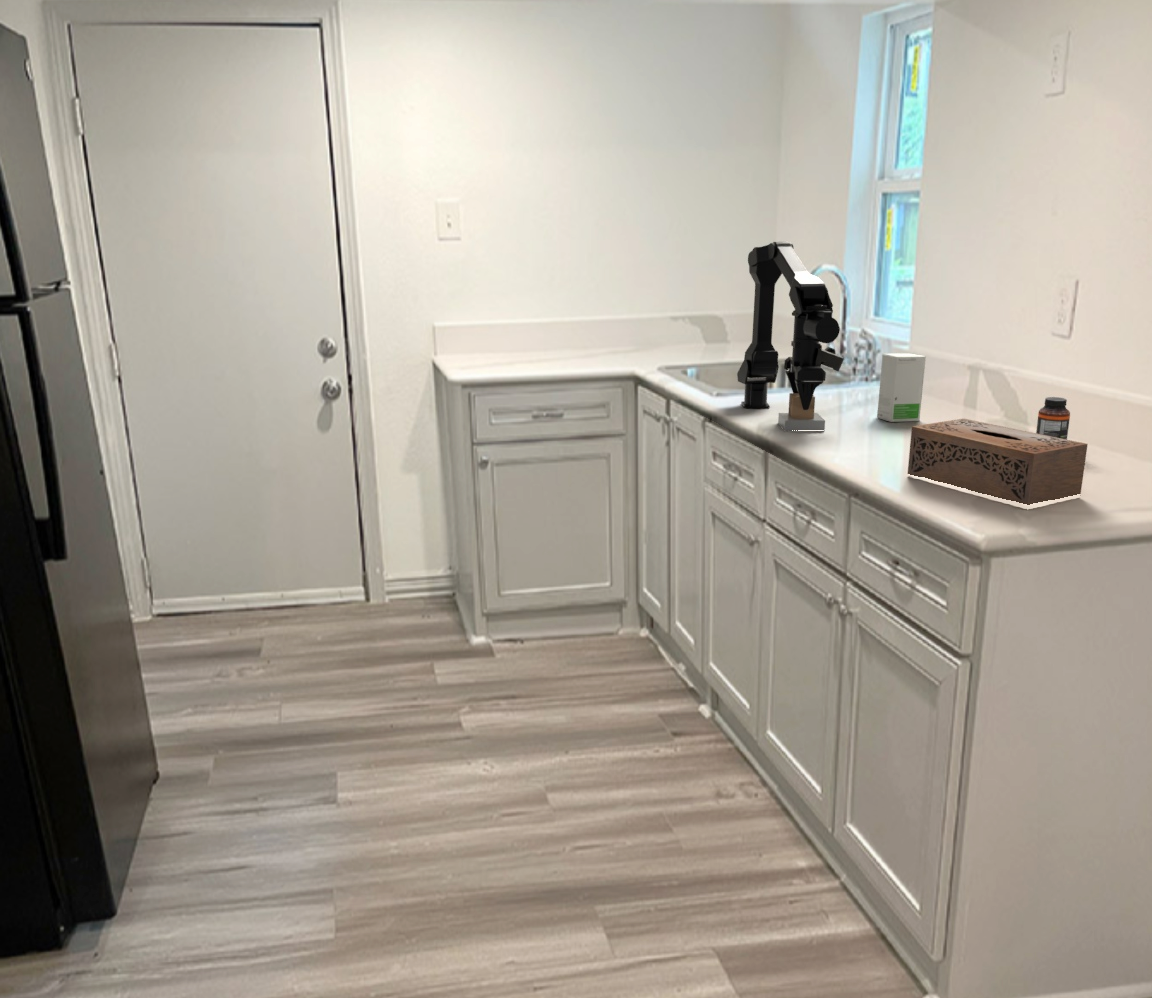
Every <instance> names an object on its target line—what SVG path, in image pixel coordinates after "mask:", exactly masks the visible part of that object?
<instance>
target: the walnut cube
mask: <svg viewBox="0 0 1152 998" xmlns="http://www.w3.org/2000/svg"><path fill="white" fill-rule="evenodd" d="M788 396H789V397H788V398H789V399H788V412H787V413H788V415H789V416H790V417H791V418H792V419H814V413H815V407H816V396H814V395H813V397H812V400H811V403H810V406H809V409H808V410H803V407H802V404H801V401H800V397H799V394H798V393H793V392H791V393H789V395H788Z"/></svg>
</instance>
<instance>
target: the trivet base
mask: <svg viewBox="0 0 1152 998" xmlns="http://www.w3.org/2000/svg"><path fill="white" fill-rule="evenodd" d="M788 413H789V412H779V413H778V419H777V420H778V421H777V424H778V425H779V426H780V428H781V427H782V428H783V429H782V428H781V429H782V431H783V432H793V431H794V430H795V431H796V430H797V431H798V430H824V431H825V429H826V420H825V418H823V417H822V416H821V415H820V414H819V413H818V412H814V419H792V418H791V417H790V416H789V415H788ZM792 430H793V431H792Z"/></svg>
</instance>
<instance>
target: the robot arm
mask: <svg viewBox="0 0 1152 998" xmlns="http://www.w3.org/2000/svg"><path fill="white" fill-rule="evenodd" d="M747 263H748V269H749V275H750V277H751V279H752V280H753V282H754V300H753V316H752V317H753V318H752V319H753V320H752V322H753V323H752V336H751V337H752V338H751V343H750V344H749V346H748V347H747V349H746V351H745V352H744V360H743V361H742V363H741V365H740V367H739V369H738V371H737V373H736V375H737V377H736V378H737V382H739V383H741V384H743V385H744V395H743V396H744V400H743V401H741V402H740V403H741V406H743V408H747V409H748V408H749V409H755V408H756V409H757V408H758V409H761V408H762V409H770V408H771V407H770V404H769V403H768V388H769V387H768V385H769V383H770V384H771V383H773V384H776V381H777V377H778V373H779V368H780V367H779V352H778V351H777V350H776V349H775V347H774V346H773V343H772V339H773V337H772V336H773V322H774V306H775V291H776V290H775V288H776V284H777V282H778V280H779V279H780V278H781V276H782V275H783V277H784V278H785V280H786V282H787V284H788V285H789V287H790V288H789V291H788V296H789V299H790V302H791V304H792V306H793V307H794V310H792V312H791V315H792V316H793V317H794V318H793V319H794V321H793V335H792V337H793V338H792V339H793V340H791V342H790V343H791V345H790V346H791V347H792V355H791V356H788V357H787V358H786V359H785V360H784V364H783V365H784V367H783V368H784V370H785V374H786V378H787V380H788V383H789V385H790V389H791V392H792V393H798V394H799V397H800V401H801V404H802V407H803V410H808V409H809V406H810V403H811V400H812V397H813V396H814V393H815V391H816V388H818V387H819V386H820V385H822V384H823V383H824V382H825V381H826V375H827V372H826V371H825V370H824V368H823V367H822V366H825V367H827V368H831V369H833V370H834V371H836V372H839V371H840V369H841V367H842V364H843V362H844V360H845V358H844V357H843V356H841V355H840V354H839V355H838V354H836V349H835V348H833V347H831V346H827V347H826V348H825V349H823V346H822V344H830V343H833V342H835V340H837V338H838V337H839V334H840V331H841V330H840V329H841V328H840V326H839V325H840V324H839V322H838V321H837V319H836V318H834V317H833V313H834V310H833V306H834V304H833V302H832V300H831V298H830V294H829V290H828V287H827V286H826V284H825V283H824V281H823V280H822V279H820V277H818V276H816V275H814V274H811V273H810V272H809V271H808V270H807V268H806V267H805V264H803V262H802V261H801V259H800V258H799V256H798V254H797V253H796V252H795V250H794V244H793V243H792V242H789V241H773V242H770V243H769V244H766V245H763V246H754V247H753V249H752V250H750V251H749V253H748V256H747Z"/></svg>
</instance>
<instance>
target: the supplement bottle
mask: <svg viewBox="0 0 1152 998" xmlns="http://www.w3.org/2000/svg"><path fill="white" fill-rule="evenodd" d="M1067 402H1068V401H1067V399H1066V398H1065V397H1057V396H1056V397H1055V396H1048V397H1045V400H1044V406H1043V407H1041V408H1040V409H1039V410H1038V413H1037V414H1038V415H1037V422H1036V431H1035V433H1037V434H1042V435H1047V436H1052V437H1057V438H1061V439H1066V440H1068V434H1069V426H1070V417H1071V412H1070V410H1069V409H1068V408H1067V407H1066V406H1067Z"/></svg>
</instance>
